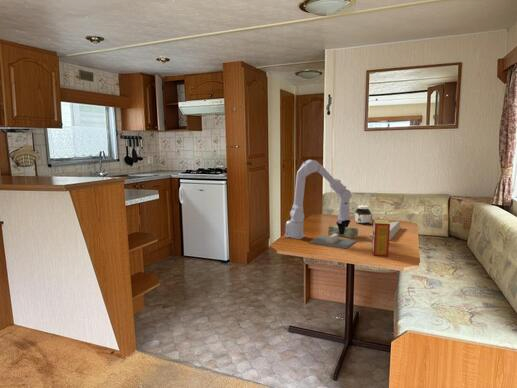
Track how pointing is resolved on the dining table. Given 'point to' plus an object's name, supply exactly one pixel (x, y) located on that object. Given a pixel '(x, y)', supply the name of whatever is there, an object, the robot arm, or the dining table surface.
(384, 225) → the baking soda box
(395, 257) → the dining table surface
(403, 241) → the dining table surface
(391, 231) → the decorative molding
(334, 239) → the stand
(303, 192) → the robot arm
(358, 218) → the white toy car
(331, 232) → the bar
